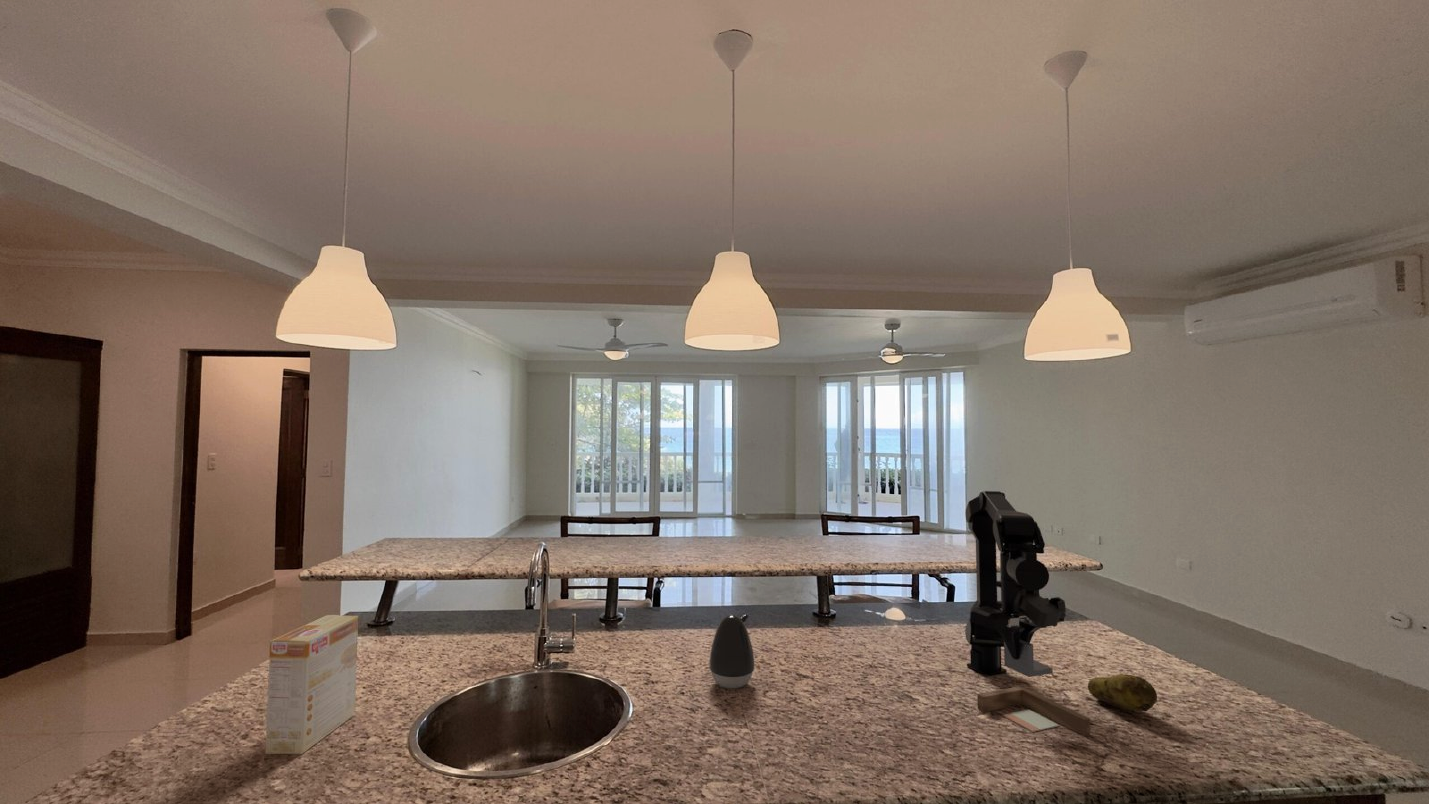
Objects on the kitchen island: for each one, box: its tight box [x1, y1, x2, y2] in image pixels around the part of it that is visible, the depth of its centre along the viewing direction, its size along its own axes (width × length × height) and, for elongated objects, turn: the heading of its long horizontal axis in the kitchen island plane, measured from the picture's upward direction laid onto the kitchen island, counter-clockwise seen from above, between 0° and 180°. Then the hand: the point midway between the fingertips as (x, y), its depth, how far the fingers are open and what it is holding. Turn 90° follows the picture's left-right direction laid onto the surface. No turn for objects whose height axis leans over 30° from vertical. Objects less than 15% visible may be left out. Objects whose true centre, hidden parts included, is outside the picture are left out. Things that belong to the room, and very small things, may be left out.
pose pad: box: [1002, 708, 1060, 733], centre depth 117 cm, size 7×7×1 cm
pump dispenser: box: [708, 614, 755, 690], centre depth 134 cm, size 10×10×15 cm
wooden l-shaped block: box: [976, 684, 1091, 737], centre depth 117 cm, size 12×16×3 cm
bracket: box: [1003, 639, 1054, 678], centre depth 118 cm, size 6×6×6 cm
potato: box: [1087, 673, 1158, 712], centre depth 122 cm, size 8×13×8 cm, turn 0°
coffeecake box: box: [264, 614, 359, 755], centre depth 111 cm, size 15×7×20 cm, turn 178°
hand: (1018, 658), depth 117 cm, fingers closed on bracket
